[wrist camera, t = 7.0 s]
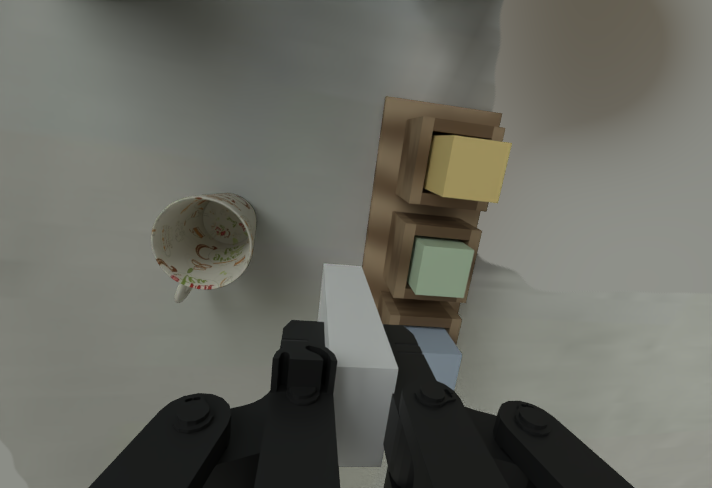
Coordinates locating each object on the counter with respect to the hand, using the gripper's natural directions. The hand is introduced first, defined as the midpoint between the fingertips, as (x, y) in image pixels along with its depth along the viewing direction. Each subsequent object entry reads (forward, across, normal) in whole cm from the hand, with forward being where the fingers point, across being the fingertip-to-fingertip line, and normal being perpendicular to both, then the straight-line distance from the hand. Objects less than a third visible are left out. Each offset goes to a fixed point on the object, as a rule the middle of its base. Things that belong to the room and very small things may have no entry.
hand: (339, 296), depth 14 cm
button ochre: (+23, +12, +5) cm, 26 cm away
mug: (+28, -11, -6) cm, 30 cm away
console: (+27, +12, -5) cm, 30 cm away
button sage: (+25, +12, -5) cm, 28 cm away
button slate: (+23, +12, -15) cm, 30 cm away
